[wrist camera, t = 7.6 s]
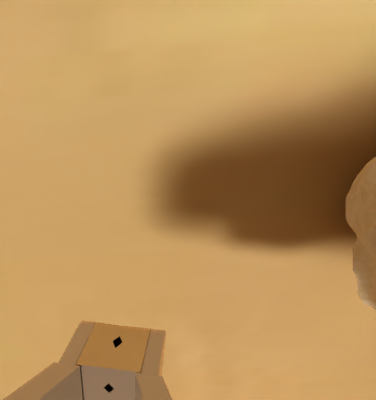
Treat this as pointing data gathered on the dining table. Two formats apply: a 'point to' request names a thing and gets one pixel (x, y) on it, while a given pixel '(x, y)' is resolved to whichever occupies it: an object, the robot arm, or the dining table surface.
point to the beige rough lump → (364, 230)
